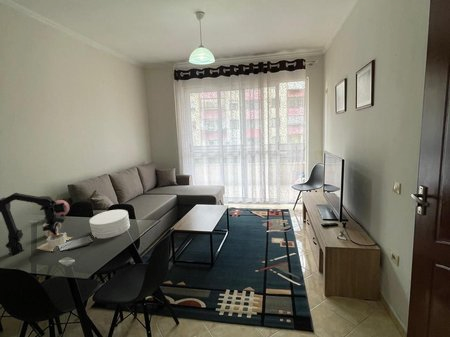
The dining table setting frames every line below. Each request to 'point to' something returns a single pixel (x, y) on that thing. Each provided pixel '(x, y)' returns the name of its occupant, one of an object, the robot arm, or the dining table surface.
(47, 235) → the teacup with lid
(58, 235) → the plunger
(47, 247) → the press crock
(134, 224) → the dining table surface
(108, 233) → the plate stack
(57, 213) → the balloon
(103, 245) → the dining table surface
